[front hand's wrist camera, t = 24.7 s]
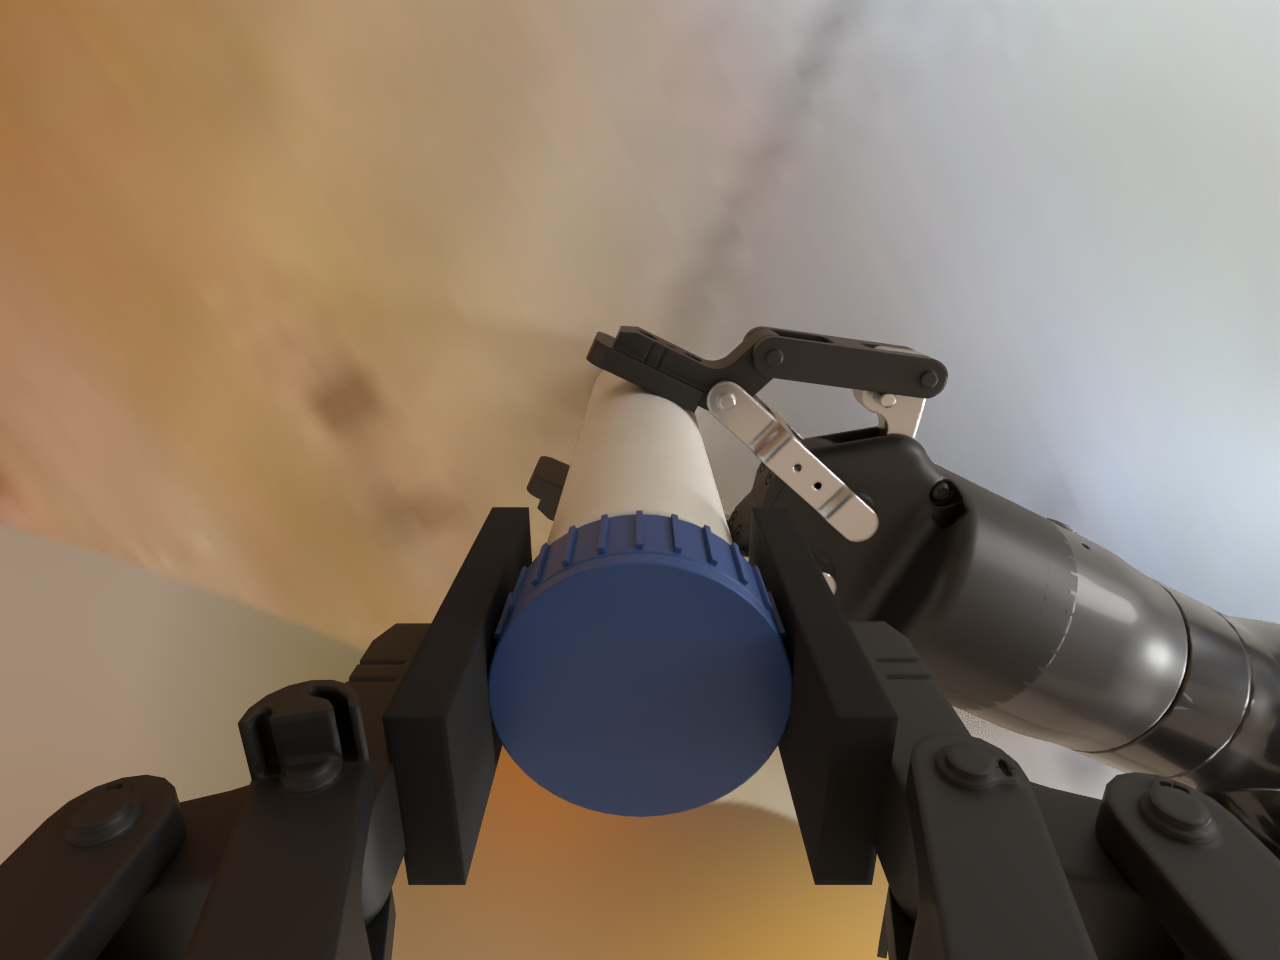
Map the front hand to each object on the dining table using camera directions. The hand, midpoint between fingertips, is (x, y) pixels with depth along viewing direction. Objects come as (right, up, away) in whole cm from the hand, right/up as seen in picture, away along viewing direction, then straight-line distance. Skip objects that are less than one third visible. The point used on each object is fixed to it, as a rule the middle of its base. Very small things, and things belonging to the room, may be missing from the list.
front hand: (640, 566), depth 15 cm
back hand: (-2, +4, +8) cm, 9 cm away
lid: (0, -1, -4) cm, 4 cm away
